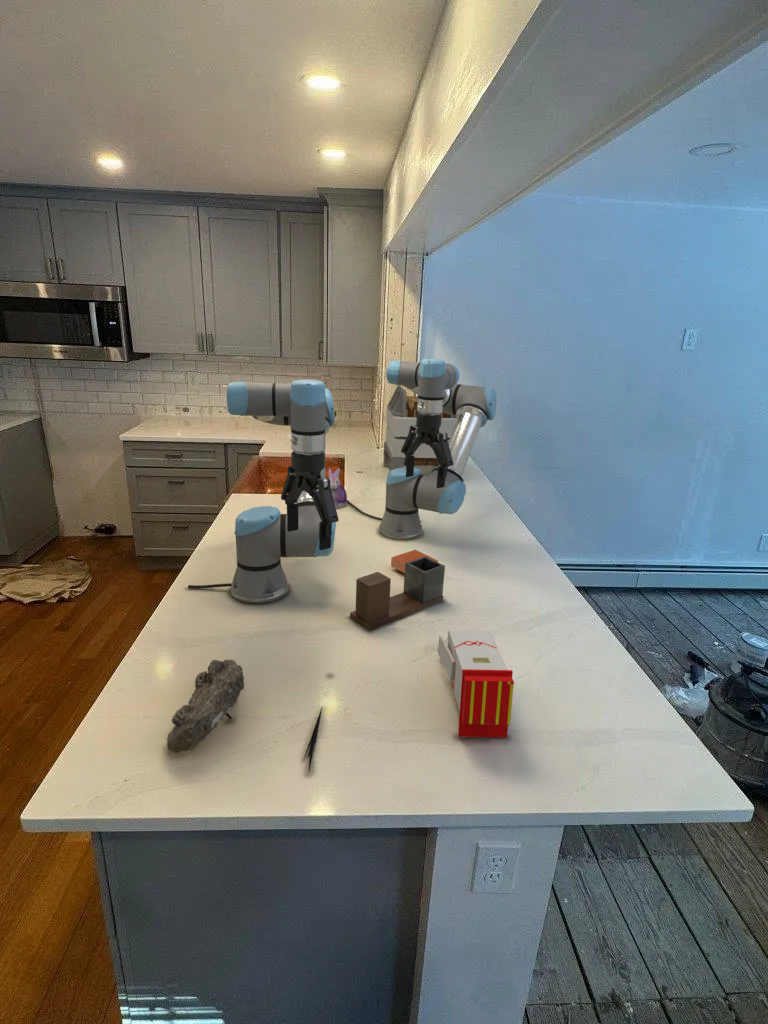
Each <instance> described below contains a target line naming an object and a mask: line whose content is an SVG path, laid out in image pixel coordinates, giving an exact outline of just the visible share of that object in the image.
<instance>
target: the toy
mask: <svg viewBox="0 0 768 1024" xmlns="http://www.w3.org/2000/svg"><path fill="white" fill-rule="evenodd" d="M446 640H447V643H446V641H445V639H444V636H443V635H442V634H439V637H438V646H437V656H438V657H439V659H440V661H441V663H442V666H443V668H444V670H445V672H446V674H447V677H448V679H449V681H450V684H451V687H452V690H453V693H454V697H455V701H456V705H457V708H458V711H459V714H458V715H459V716H458V730H457V731H458V732H457V737H458V738H508V731H509V726H510V725H511V717H512V707H513V697H514V696H513V695H514V684H515V680H514V679H513V673H514V671H513V670H512V669H508V667H507V665H506V662H505V661H504V659H503V658H502V655H501V653H500V651H499V649H498V647H497V643H496V639H495V637H494V635H493V634H491V632H490V631H489V629H467V628H466V629H465V628H463V629H461V628H460V629H459V628H448V630H447V639H446Z"/></svg>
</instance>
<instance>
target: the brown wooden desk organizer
mask: <svg viewBox="0 0 768 1024" xmlns="http://www.w3.org/2000/svg"><path fill="white" fill-rule="evenodd" d="M445 571H446V565H444V564H442V563H440V562H439V561H438V562H436V561H434V560H432V559H430V558H428V557H426V556H424V557H422V558H419V559H416V560H413V561H410V562H407V563H405V573H404V576H403V577H404V578H403V592H401V593H398V594H394V595H391V584H392V583H391V582H392V578H390V577H389V576H387V575H386V574H385V575H384V574H383V573H381V572H380V571H375V572H373V573H369V574H367V575H364V576H361V577H357V578H356V581H355V583H356V585H355V610H353V611H350V612H349V617H350V619H352V620H353V621H354V622H355V623H357V624H359V625H360V626H361V627H363V628H365V629H366V630H367V631H369V632H372V631H373V630H376V629H379V628H380V627H383V626H386V625H388V624H390V623H393V622H395V621H397V620H399V619H400V620H401V619H402V618H404V617H407V616H409V615H412V614H414V613H417V612H419V611H421V610H424V609H426V608H428V607H429V608H430V607H431V606H433V605H436V604H438V603H441V602H443V601H444V595H443V594H444V583H445Z"/></svg>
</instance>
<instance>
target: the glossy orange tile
mask: <svg viewBox="0 0 768 1024" xmlns="http://www.w3.org/2000/svg"><path fill="white" fill-rule="evenodd" d="M424 556H426V557H428V558H430V559H432V560H434V561H436V562H438V563H439V560H438V559H436V558H434V557H432V556H429V555H428V554H425V553H423V552H421V551H420V550H417V549H413V550H410V551H406V552H403V553H400V554H398V555H394V556H391V558H390V560H391V561H390V567H391V568H393V569H396V570H397V571H399V572H401V573H403V574H405V563H407V562H410V561H413V560H416V559H419V558H422V557H424Z"/></svg>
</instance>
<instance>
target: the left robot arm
mask: <svg viewBox="0 0 768 1024" xmlns="http://www.w3.org/2000/svg"><path fill="white" fill-rule="evenodd" d="M226 407H227V411H228V413H229V414H230V415H232V416H240V417H245V416H248V417H252V418H253V419H255V420H256V421H259V422H263V423H266V424H270V425H274V426H284V427H285V426H287V427H289V428H290V434H291V435H290V437H291V438H290V443H291V445H290V448H291V450H292V451H291V453H290V457H291V458H290V463H291V465H290V466H289V465H288V466H287V470H286V471H287V473H286V477H285V481H284V484H283V488H282V492H281V495H280V499H281V501H284V504H285V505H286V513H281V510H280V509H279V508H278V507H276V506H271V505H263V506H255V507H251V508H248V509H246V510H244V511H242V512H240V513H239V514H238V515H237V517H236V518H235V522H234V527H235V528H234V535H235V551H236V552H235V553H236V568H235V571H234V575H233V578H232V582H230V583H215V584H200V585H198V584H195V585H194V584H188V585H187V588H188V589H212V588H230V590H231V591H230V592H231V596H232V597H233V598H234V599H235V600H237V601H239V602H242V603H245V604H255V605H259V604H261V605H262V604H268V603H272V602H275V601H278V600H280V599H282V598H284V596H286V595H287V593H288V591H289V583H288V579H287V576H286V573H285V571H284V568H283V566H282V558H315V559H316V558H322V557H323V558H324V557H325V558H326V557H329V556H331V555H332V554H333V551H334V545H335V537H336V527H337V522H339V515H338V511H337V508H336V507H335V503H334V499H333V495H332V492H331V486H330V479H329V477H326V436H327V434H328V433H329V432H330V430H331V428H332V427H333V426H334V425H335V421H336V420H335V405H334V399H333V395H332V392H331V390H330V389H329V388H326V384H325V383H324V382H323V380H322V381H321V380H318V379H295V380H293V381H292V382H291V383H285V382H284V383H281V382H279V383H278V382H271V383H270V382H247V381H245V382H244V381H235V382H234V381H233V382H229V383H228V384H227V386H226Z"/></svg>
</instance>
